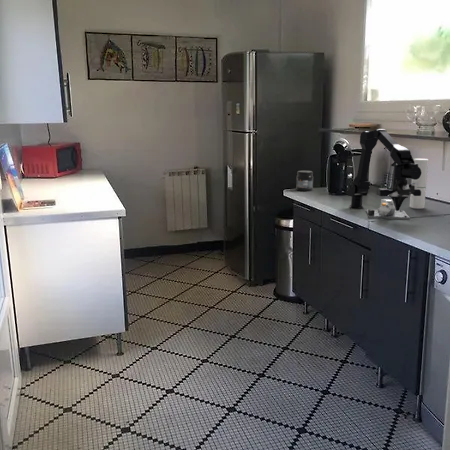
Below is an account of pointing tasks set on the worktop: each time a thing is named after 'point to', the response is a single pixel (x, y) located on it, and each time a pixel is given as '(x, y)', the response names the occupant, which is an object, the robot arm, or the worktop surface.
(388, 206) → the collar
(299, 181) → the supplement container
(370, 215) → the flange
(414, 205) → the cylindrical container
